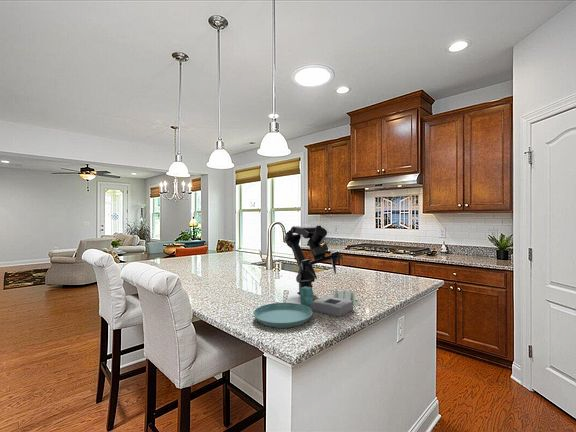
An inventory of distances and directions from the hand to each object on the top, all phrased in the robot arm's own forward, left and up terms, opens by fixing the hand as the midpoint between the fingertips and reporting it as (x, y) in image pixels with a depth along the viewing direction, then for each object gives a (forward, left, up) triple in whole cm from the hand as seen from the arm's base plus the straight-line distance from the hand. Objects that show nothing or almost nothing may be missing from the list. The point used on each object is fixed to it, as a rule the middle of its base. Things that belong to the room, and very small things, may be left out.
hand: (326, 276), depth 139 cm
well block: (+6, -4, -14) cm, 15 cm away
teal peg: (-8, -4, -14) cm, 17 cm away
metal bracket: (+3, +11, -14) cm, 18 cm away
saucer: (-5, -25, -14) cm, 30 cm away
